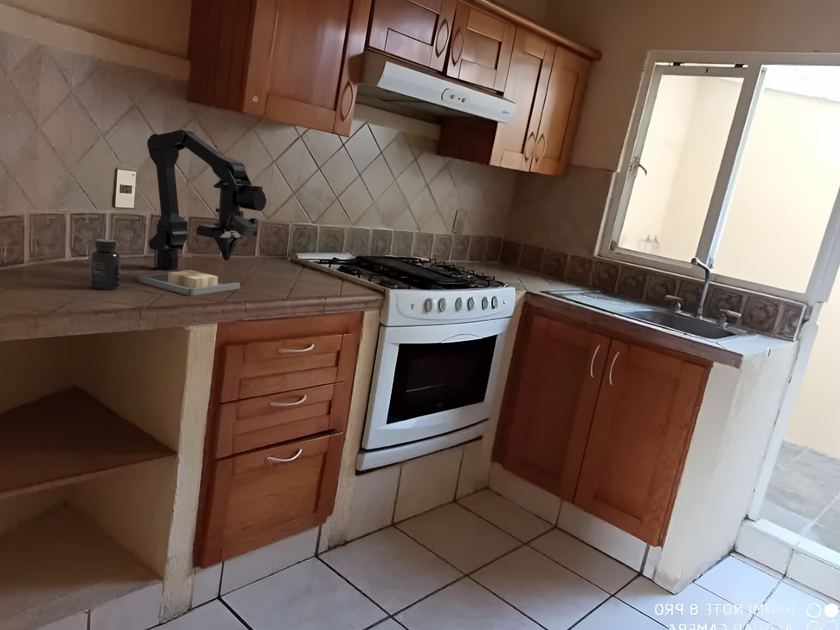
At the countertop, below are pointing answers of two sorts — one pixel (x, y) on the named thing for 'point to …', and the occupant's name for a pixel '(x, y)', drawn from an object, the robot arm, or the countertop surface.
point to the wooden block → (192, 279)
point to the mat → (162, 282)
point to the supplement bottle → (105, 265)
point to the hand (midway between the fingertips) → (226, 260)
